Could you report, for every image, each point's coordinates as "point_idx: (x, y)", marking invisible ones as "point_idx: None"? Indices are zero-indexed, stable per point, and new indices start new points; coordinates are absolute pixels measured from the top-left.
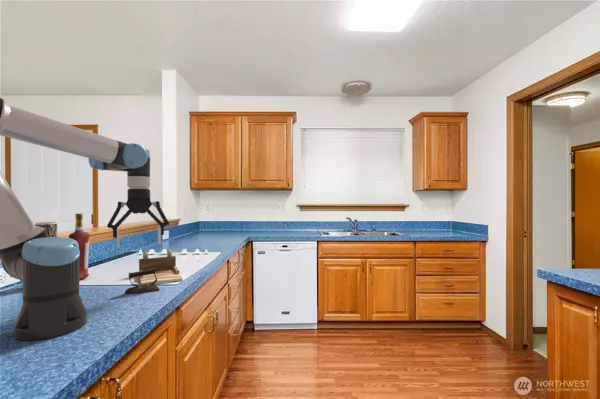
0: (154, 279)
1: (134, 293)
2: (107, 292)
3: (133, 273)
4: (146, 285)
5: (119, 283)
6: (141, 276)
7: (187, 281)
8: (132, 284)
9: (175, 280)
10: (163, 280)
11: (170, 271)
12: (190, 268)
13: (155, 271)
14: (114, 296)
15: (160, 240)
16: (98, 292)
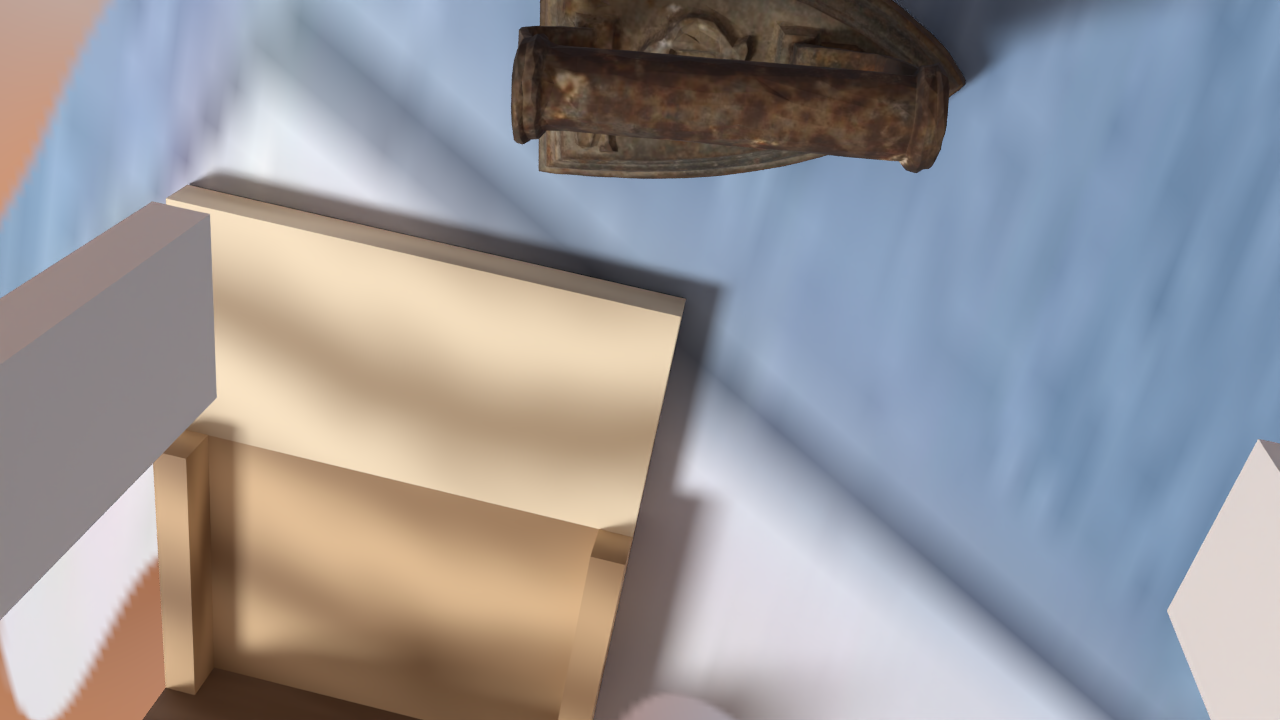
0: (498, 374)
1: None
2: (1102, 300)
3: (875, 94)
4: (687, 23)
5: (854, 589)
6: (614, 549)
7: (130, 103)
8: (879, 64)
9: (265, 210)
10: (408, 251)
11: (256, 603)
12: (30, 660)
13: (409, 713)
14: (1113, 35)
15: (92, 248)
16: (1180, 376)
